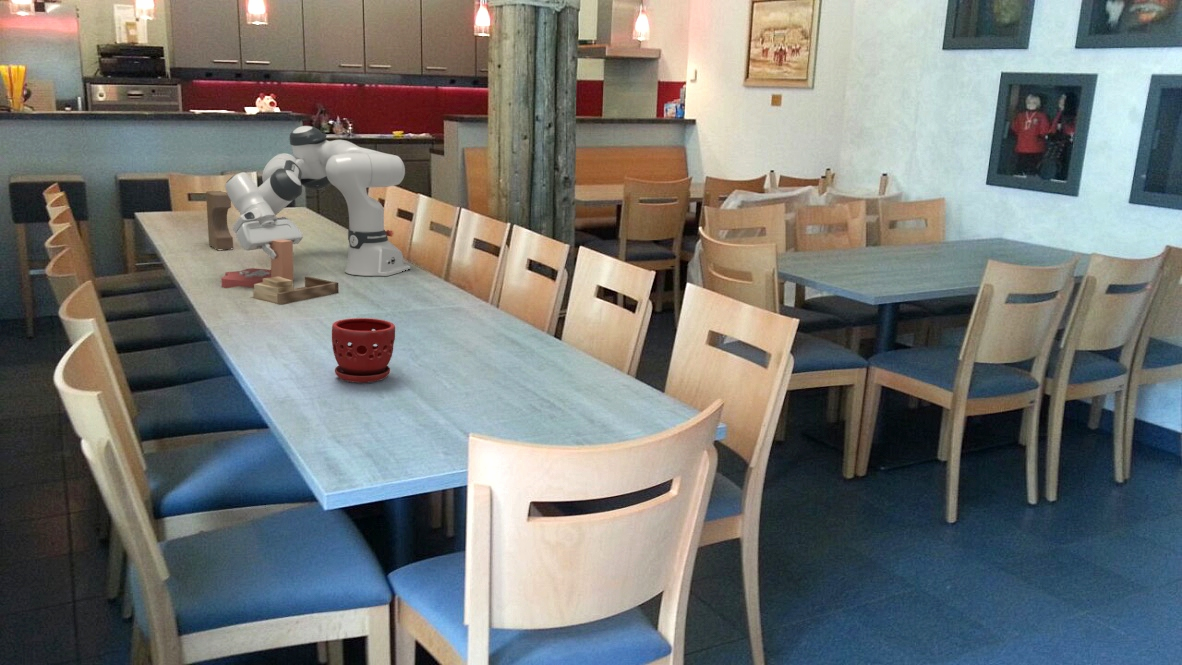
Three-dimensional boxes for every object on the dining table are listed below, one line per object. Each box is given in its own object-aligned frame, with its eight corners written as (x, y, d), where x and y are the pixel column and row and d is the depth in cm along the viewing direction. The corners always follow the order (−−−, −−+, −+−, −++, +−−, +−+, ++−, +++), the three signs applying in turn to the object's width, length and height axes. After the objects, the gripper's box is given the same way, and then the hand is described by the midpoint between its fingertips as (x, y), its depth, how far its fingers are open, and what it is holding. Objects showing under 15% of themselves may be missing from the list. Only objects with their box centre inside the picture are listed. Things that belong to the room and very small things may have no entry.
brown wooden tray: (308, 289, 282) (307, 276, 281) (338, 296, 275) (338, 282, 274) (249, 300, 264) (249, 286, 263) (280, 308, 258) (280, 293, 257)
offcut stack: (273, 293, 270) (273, 274, 268) (299, 299, 264) (299, 280, 263) (252, 297, 264) (251, 278, 262) (278, 303, 258) (278, 284, 257)
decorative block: (233, 249, 338) (230, 194, 333) (217, 250, 335) (214, 194, 329) (224, 245, 346) (221, 190, 341) (208, 246, 343) (205, 191, 338)
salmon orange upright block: (282, 278, 282) (281, 238, 279) (293, 280, 280) (292, 240, 277) (271, 279, 279) (270, 240, 276) (282, 282, 276) (281, 242, 273)
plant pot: (381, 389, 195) (380, 333, 192) (322, 382, 197) (320, 327, 194) (404, 371, 207) (404, 319, 204) (348, 365, 209) (347, 313, 206)
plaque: (240, 265, 295) (285, 269, 293) (241, 277, 296) (285, 281, 294) (209, 275, 278) (256, 279, 276) (210, 288, 279) (257, 292, 277)
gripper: (283, 223, 290) (306, 258, 287) (227, 229, 273) (250, 267, 271) (293, 210, 286) (315, 246, 284) (236, 216, 270) (259, 254, 267)
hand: (283, 256), depth 277 cm, fingers closed on salmon orange upright block, 4 cm apart
